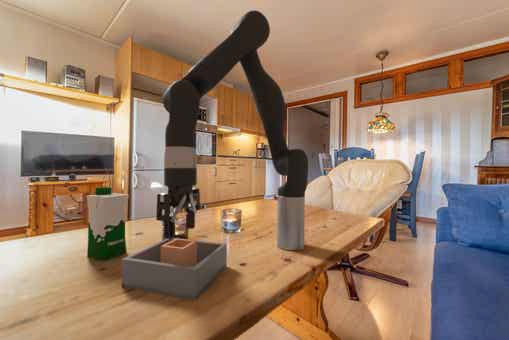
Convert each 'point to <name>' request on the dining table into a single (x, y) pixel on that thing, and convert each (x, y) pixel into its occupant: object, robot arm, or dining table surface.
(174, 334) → the dining table surface
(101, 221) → the milk carton
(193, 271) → the big crate
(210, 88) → the robot arm
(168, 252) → the box
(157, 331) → the dining table surface
